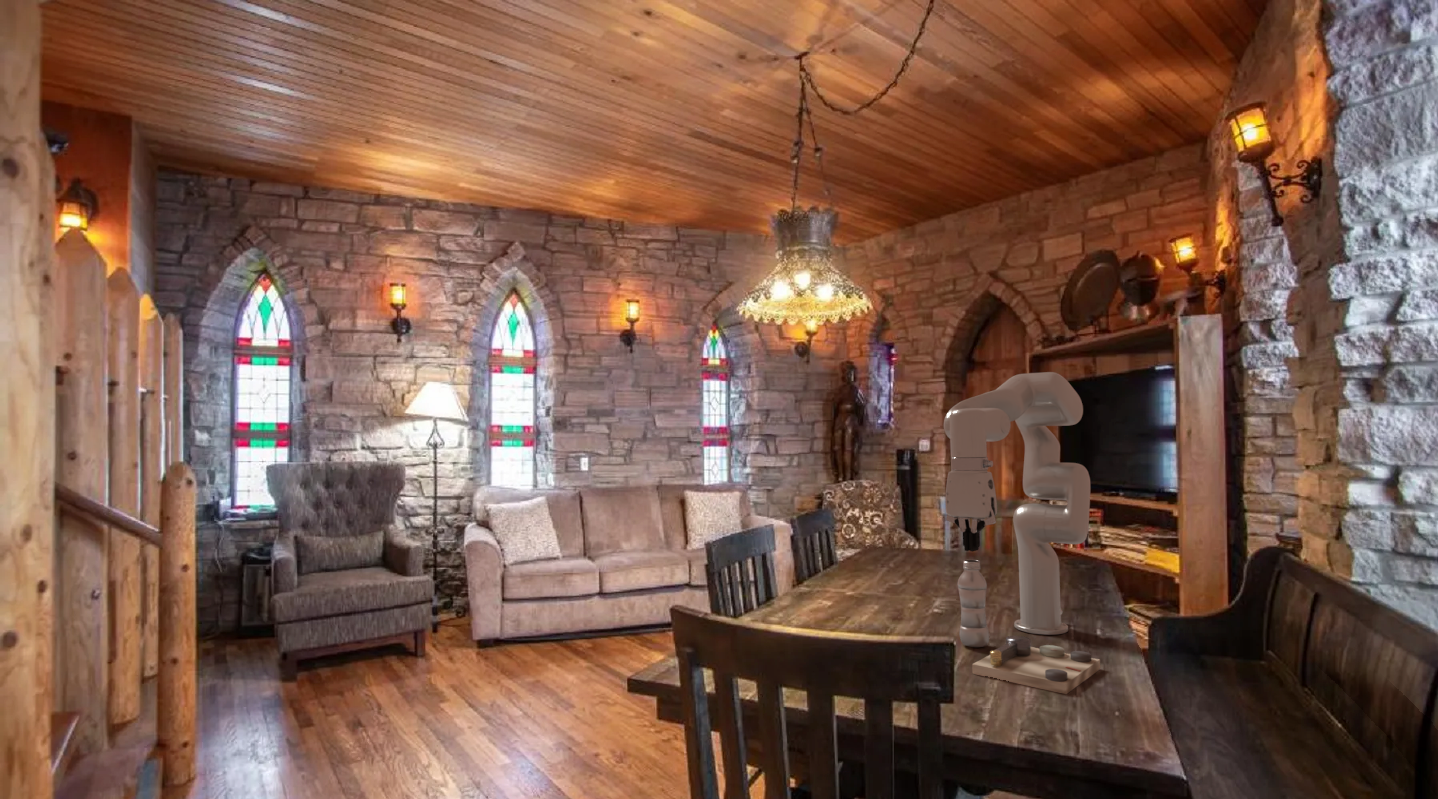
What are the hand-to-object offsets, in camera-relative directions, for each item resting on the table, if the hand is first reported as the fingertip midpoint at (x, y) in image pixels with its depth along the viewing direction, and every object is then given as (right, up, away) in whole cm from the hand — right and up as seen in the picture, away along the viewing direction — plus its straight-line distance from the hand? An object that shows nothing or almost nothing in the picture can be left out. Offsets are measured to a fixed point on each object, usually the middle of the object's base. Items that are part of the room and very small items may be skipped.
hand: (971, 550), depth 166 cm
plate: (+12, -25, -4) cm, 28 cm away
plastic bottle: (+5, -26, +14) cm, 30 cm away
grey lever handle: (+7, -23, -2) cm, 24 cm away
